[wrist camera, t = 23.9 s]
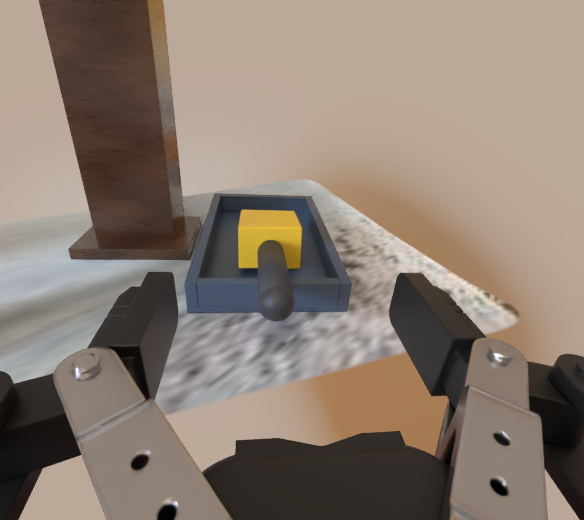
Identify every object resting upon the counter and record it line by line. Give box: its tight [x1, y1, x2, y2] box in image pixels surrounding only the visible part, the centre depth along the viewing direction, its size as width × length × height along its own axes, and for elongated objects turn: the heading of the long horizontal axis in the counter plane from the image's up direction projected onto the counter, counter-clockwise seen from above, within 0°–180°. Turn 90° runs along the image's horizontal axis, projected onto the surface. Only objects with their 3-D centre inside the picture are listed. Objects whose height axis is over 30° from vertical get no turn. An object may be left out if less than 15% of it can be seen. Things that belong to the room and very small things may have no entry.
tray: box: [185, 194, 352, 313], centre depth 32 cm, size 12×20×2 cm, turn 5°
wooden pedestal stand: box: [39, 0, 201, 260], centre depth 26 cm, size 10×8×32 cm
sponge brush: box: [238, 210, 302, 321], centre depth 25 cm, size 5×16×4 cm, turn 5°
